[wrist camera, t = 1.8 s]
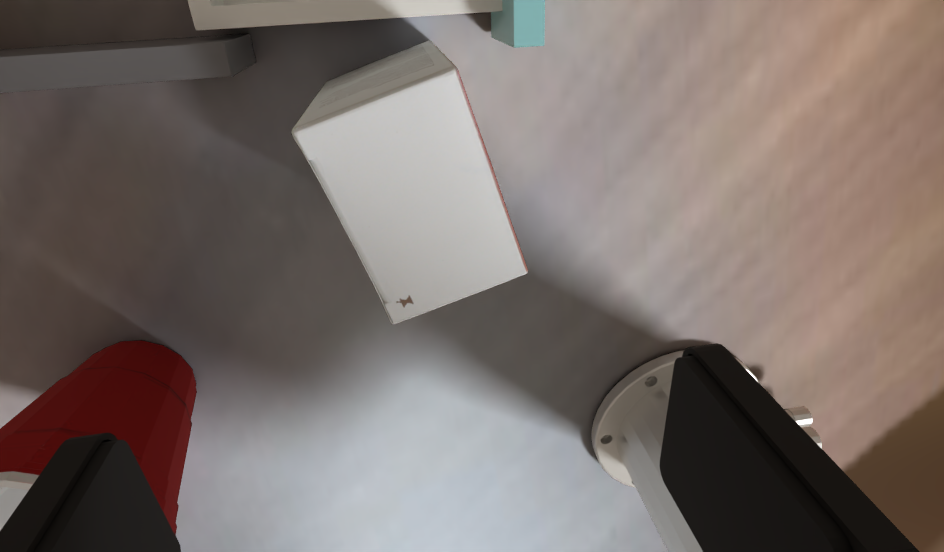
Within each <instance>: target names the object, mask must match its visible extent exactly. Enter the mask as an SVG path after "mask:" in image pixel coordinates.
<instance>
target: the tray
mask: <svg viewBox="0 0 944 552" xmlns="http://www.w3.org/2000/svg"><path fill="white" fill-rule="evenodd" d="M187 1H188V4H189V8H190V12H191V15H192V19H193V23H194V26H195V30H212V29H228V28H244V27H260V26H276V25H292V24H307V23H323V22H339V21H355V20H371V19H387V18H402V17H418V16H434V15H450V14H466V13H482V12H491V35H492V38H494V39H496V40H498V41H501V42H503V43H505V44H507V45H509V46H512V47H514V48H516V47H530V46H544V27H545V0H187Z"/></svg>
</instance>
